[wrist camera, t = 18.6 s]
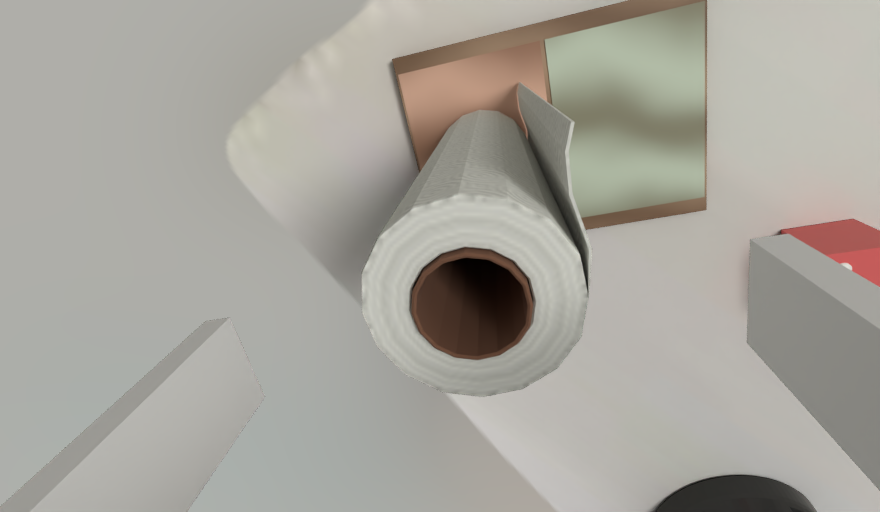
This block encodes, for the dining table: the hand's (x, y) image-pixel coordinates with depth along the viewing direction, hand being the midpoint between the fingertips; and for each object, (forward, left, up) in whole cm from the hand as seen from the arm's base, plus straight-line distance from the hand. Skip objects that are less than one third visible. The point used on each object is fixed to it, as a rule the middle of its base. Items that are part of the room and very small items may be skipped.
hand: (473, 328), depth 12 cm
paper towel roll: (0, 0, -22) cm, 22 cm away
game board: (0, -5, -23) cm, 23 cm away
